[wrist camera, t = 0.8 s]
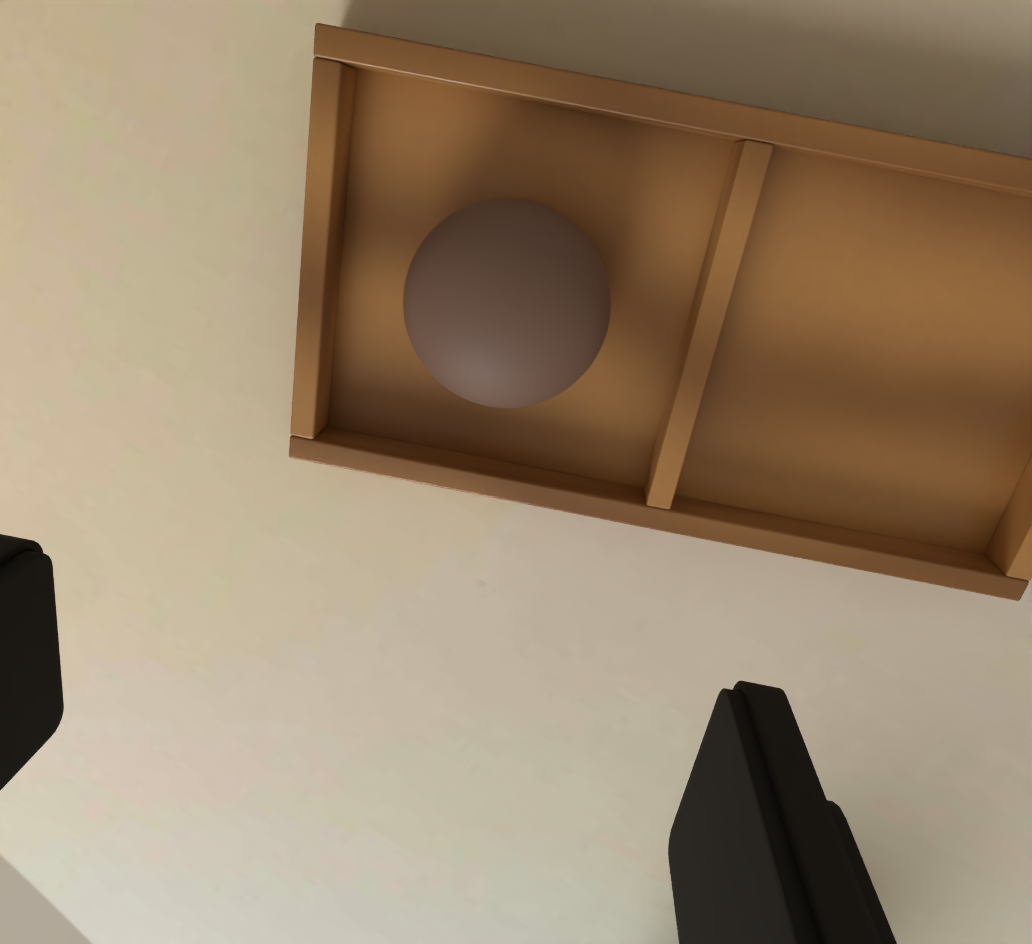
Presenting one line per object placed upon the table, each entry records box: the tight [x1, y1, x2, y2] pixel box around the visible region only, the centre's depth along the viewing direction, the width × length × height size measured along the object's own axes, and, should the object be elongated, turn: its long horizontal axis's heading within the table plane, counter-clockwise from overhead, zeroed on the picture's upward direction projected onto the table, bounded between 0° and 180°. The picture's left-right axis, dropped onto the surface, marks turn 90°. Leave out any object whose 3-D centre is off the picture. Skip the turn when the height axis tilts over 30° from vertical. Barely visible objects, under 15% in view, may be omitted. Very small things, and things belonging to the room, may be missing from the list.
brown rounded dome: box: [403, 198, 611, 408], centre depth 21 cm, size 6×6×4 cm
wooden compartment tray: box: [289, 23, 1032, 601], centre depth 23 cm, size 13×24×2 cm, turn 80°
